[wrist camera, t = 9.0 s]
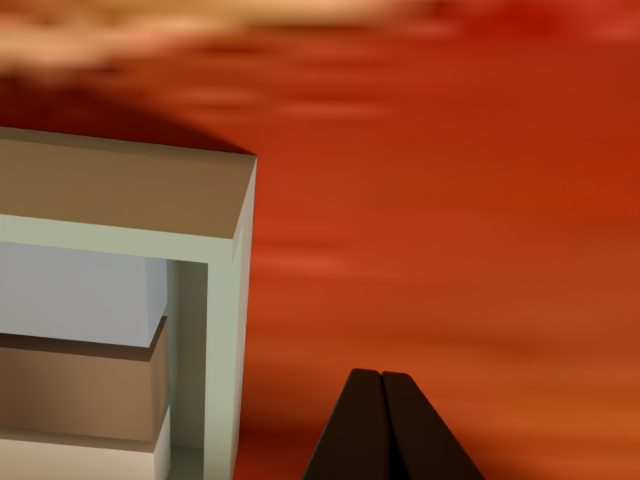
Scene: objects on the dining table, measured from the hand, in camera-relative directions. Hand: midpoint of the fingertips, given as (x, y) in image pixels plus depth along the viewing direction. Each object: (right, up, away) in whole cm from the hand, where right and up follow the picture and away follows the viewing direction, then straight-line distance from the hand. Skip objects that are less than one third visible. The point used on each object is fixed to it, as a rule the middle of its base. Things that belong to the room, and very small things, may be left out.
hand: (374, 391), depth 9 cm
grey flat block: (-10, +2, +10) cm, 14 cm away
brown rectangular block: (-10, -2, +12) cm, 16 cm away
